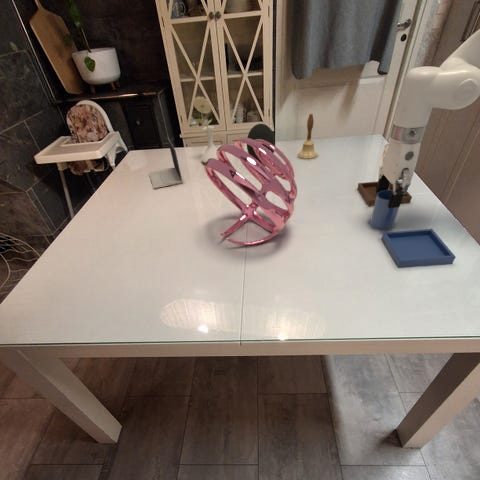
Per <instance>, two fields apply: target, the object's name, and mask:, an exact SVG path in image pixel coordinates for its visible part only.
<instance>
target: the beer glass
mask: <svg viewBox="0 0 480 480" xmlns="http://www.w3.org/2000/svg"><path fill="white" fill-rule="evenodd" d="M388 145H389V143H386V144H385V145H383V146H384V147H383V150H382V153H381V156H380V160H379V166H378V176H377V177H378V178H377V182H378V183H379V179H380V174H381V172H382V170H381V168H382V165H383V158H384V157H385V154H386V151H387V148H388ZM378 183H377V186H376V189H375V191H374V195H375V196H377V193H378V192H377V191H376V190H377V187H378ZM388 190H393V184H392V183H391V182H390V185H389V188H388Z"/></svg>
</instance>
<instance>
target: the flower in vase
mask: <svg viewBox="0 0 480 480" xmlns="http://www.w3.org/2000/svg"><path fill="white" fill-rule="evenodd" d="M192 103H193V107H194V108H195V110H197V112H199V113H201V118H199V117H198V118H197V119H196V121H195V123H198V124H201V125H203V124H204V125H205V126H204V127H202V129H203V131H204V132H205V134H206V138H207V144H208V146H207V148H206V149H205V151H204V152H203V153H202V154H201V156H200V160H201V162H202V163H204V164H206V162H207V161H208V160H209V159H210V158H214V159H217V160H218V158H217V150H218V147H216V146H215V143H214V138H213V137H214V129H215V125H208V124H210V123H212V121H213V118H211V119H209V120H208V121H207V123H206V122H205V120H204V118H203V114H204V115H205V114H206V115H207V114H210V112H211V113H212V104H211V103H210V100H208V99H207V98H205V97H204V96H200V95H198V96H195V98H194V99H193V102H192Z"/></svg>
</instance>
